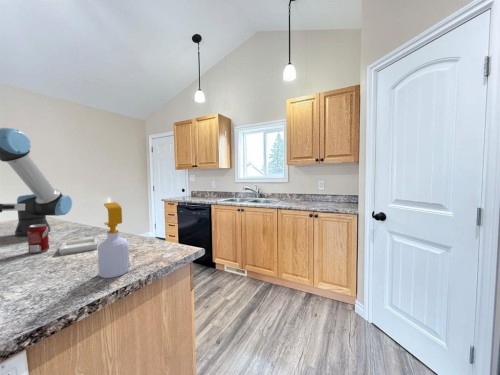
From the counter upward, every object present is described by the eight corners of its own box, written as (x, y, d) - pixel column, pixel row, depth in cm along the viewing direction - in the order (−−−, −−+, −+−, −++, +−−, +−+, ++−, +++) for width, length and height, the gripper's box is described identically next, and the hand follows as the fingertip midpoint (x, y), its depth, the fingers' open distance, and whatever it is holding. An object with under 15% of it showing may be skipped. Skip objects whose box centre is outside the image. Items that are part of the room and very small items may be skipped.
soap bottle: (123, 265, 85) (120, 200, 84) (133, 271, 80) (131, 202, 78) (95, 273, 79) (92, 203, 77) (105, 281, 73) (101, 205, 71)
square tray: (63, 247, 108) (63, 241, 107) (97, 242, 115) (97, 237, 115) (59, 255, 96) (59, 249, 96) (97, 249, 104) (97, 244, 104)
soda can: (39, 254, 98) (37, 227, 97) (24, 254, 98) (22, 227, 98) (53, 249, 105) (51, 223, 104) (39, 249, 105) (37, 223, 104)
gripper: (-74, 218, 84) (8, 215, 102) (-61, 219, 71) (29, 216, 90) (-72, 197, 84) (9, 198, 103) (-59, 196, 72) (30, 197, 90)
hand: (19, 207), depth 96 cm, fingers open, 13 cm apart
